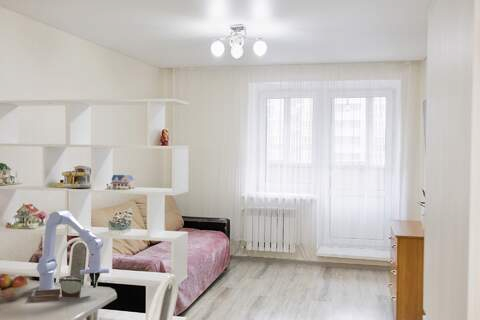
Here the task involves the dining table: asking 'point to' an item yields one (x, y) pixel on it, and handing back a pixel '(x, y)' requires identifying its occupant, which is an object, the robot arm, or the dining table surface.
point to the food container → (71, 286)
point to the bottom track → (45, 295)
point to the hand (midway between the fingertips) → (94, 287)
